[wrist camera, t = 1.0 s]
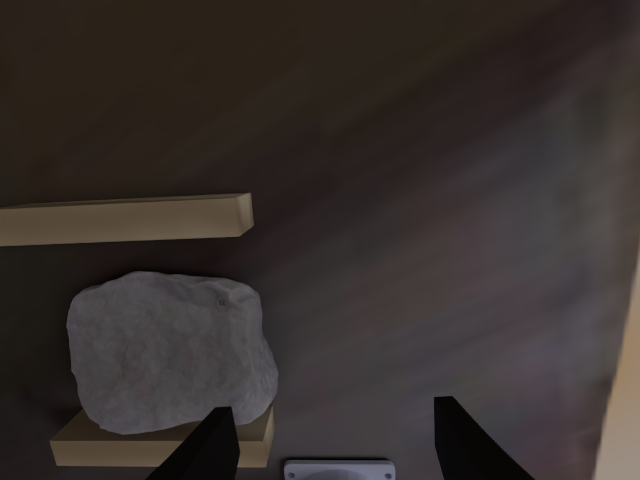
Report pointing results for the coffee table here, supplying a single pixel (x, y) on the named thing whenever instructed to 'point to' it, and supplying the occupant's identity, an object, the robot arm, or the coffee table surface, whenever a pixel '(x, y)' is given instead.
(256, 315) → the stone block
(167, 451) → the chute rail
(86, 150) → the coffee table surface
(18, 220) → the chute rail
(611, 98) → the coffee table surface
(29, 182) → the coffee table surface
